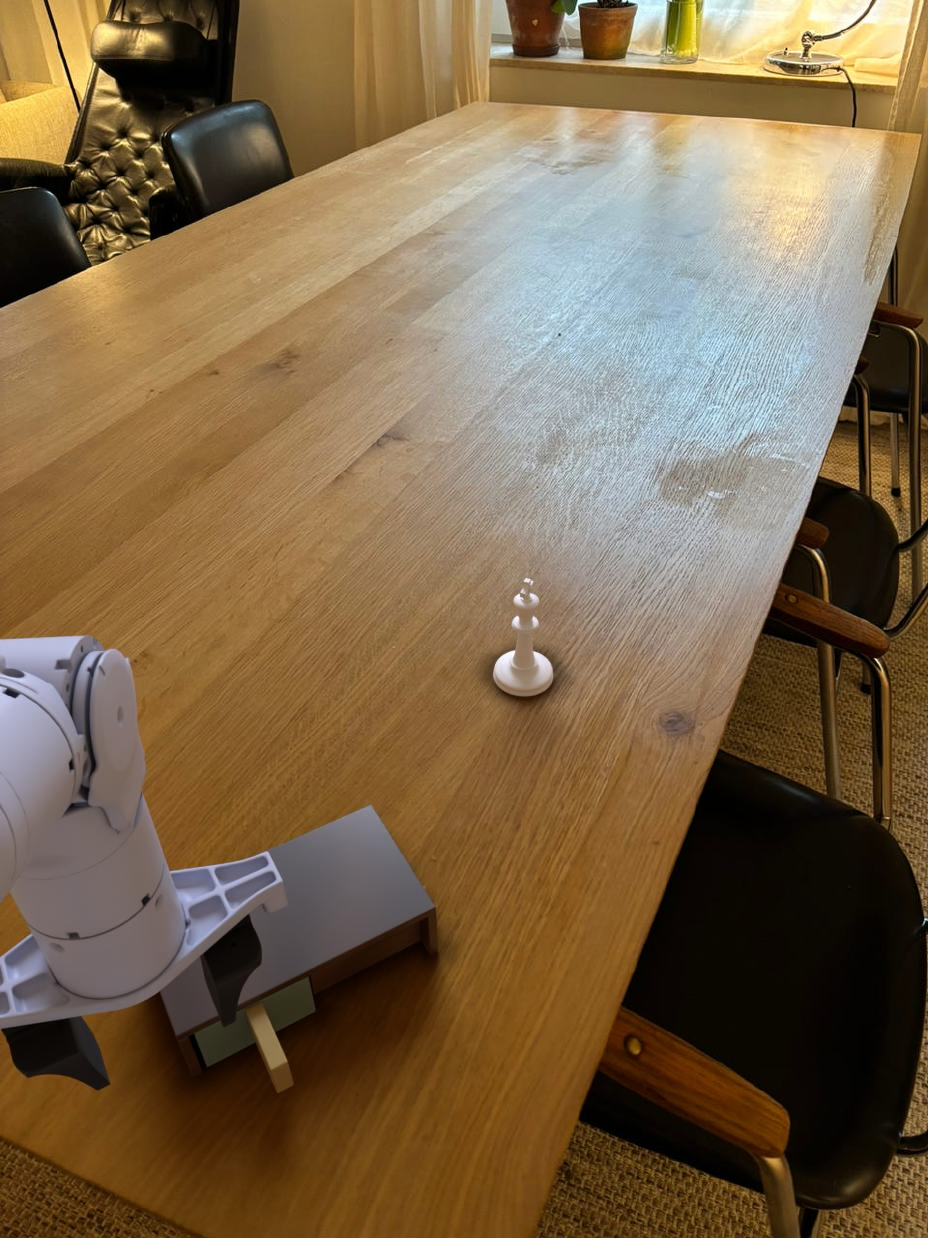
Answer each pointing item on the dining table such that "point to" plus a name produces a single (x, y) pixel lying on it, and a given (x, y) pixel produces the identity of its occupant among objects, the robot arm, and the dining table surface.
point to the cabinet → (320, 920)
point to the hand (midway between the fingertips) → (162, 1038)
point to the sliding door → (260, 1030)
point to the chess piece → (524, 652)
